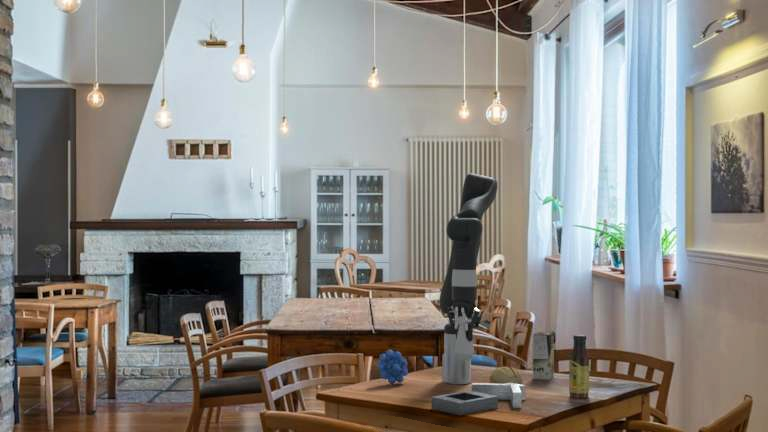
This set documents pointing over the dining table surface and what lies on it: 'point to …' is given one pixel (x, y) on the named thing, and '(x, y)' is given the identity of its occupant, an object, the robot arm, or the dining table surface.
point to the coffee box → (543, 355)
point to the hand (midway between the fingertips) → (464, 341)
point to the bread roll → (506, 376)
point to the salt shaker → (463, 342)
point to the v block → (503, 391)
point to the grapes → (392, 366)
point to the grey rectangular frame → (464, 402)
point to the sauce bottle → (579, 368)
